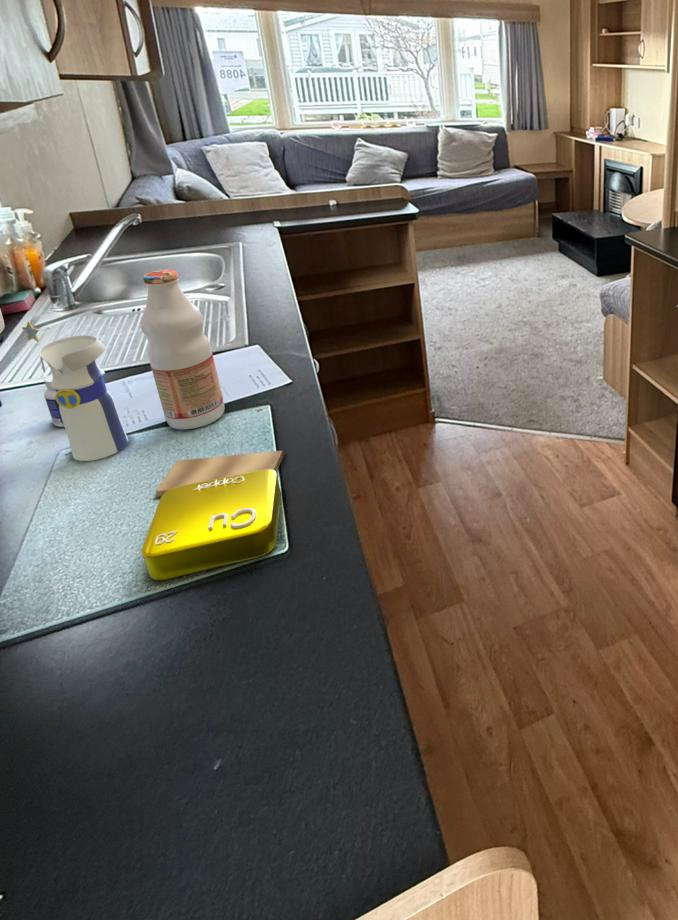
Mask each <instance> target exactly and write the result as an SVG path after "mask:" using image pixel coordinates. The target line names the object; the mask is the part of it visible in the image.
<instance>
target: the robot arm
mask: <svg viewBox="0 0 678 920" xmlns="http://www.w3.org/2000/svg"><path fill="white" fill-rule="evenodd" d="M4 329H5V320H4V317H3V313H2V309H0V334H2V332H3V331H4ZM1 339H2V337H1V336H0V340H1ZM2 407H3V402H2V400H1V399H0V408H2Z"/></svg>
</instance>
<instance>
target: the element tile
mask: <svg viewBox="0 0 678 920" xmlns="http://www.w3.org/2000/svg"><path fill="white" fill-rule="evenodd" d="M159 498H160V499H159V501H158V503H157V507H156V509H155V512H154V514H153V518H152V520H151V523H150V526H149V529H148V530H147V531H148V532H147V534H146V537H145V540H144V542H143V545H142V548H141V555H142V557H143V561H144V564H145V567H146V569H147V573H148V575H149V577H150V579H152V580H154V581H165V580H170V579H174V578H178V577H182V576H186V575H190V574H191V575H192V574H195V573H199V572H203V571H207V570H212V569H216V568H220V567H224V566H228V565H232V564H236V563H239V562H243V561H249V560H253V559H257V558H260V557H263V556H265V555H267V554H269V553H270V552H271V551H273V550H274V549H275V547H276V545H277V541H278V531H279V521H280V511H281V501H282V500H281V499H282V492H281V488H280V483H279V478H278V474H277V472H275V471H274V470H271V469H265V470H258V471H253V472H248V473H243V474H238V475H233V476H228V477H223V478H218V479H213V480H208V481H203V482H198V483H193V484H188V485H183V486H179V487H175V488H172V489H169V490H168V491H166V492H165V493H164V494H163V495H162V497H159Z"/></svg>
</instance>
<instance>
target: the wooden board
mask: <svg viewBox="0 0 678 920" xmlns="http://www.w3.org/2000/svg"><path fill="white" fill-rule="evenodd" d="M283 459H284V453H283V450H275V451H274V450H273V451H262V452H254V453H253V452H251V453H243V454H232V455H224V456H223V455H222V456H212V457H200V458H189V459H181V460H180V459H179V460H177V461H176V462H175V463H174V465H173V466H172V467H171V469H170V471H169V472H168V473H167V475H166V476H165V477H164V478H163V480H162V482H161V483H160V484H159V486H158V487H157V489H156V490H155V494H156V496H157V498H161V497H162V495H163V494H164V493H165V492H166V491H168V490H169V489H172V488H175V487H179V486H183V485H188V484H193V483H198V482H203V481H208V480H213V479H218V478H223V477H228V476H233V475H238V474H243V473H248V472H253V471H258V470H265V469H271V470H274V471H275V472H276V473H277V472H278V469H279V468H280V465H281V463H282V461H283Z"/></svg>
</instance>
